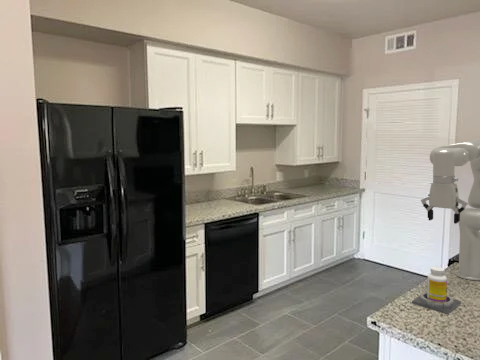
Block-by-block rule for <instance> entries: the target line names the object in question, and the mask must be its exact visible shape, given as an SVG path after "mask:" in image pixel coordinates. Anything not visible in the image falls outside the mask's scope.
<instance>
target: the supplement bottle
mask: <svg viewBox="0 0 480 360" xmlns="http://www.w3.org/2000/svg"><path fill="white" fill-rule="evenodd" d="M429 270H430V273H428V275H427V281H426V282H427V287H426V288H427V289H426V292H427V299H428V300H431V301H434V302H442V303H443V302H446V299H447V295H448V293H447V291H448V290H447V289H448V277H447V276H446V275H445V269H444V268H443V267H440V266H439V267H438V266H432V267H430V269H429Z"/></svg>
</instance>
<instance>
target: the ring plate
mask: <svg viewBox="0 0 480 360" xmlns="http://www.w3.org/2000/svg"><path fill="white" fill-rule="evenodd" d="M411 304H413V305H416V306H419V307H422V308H425V309H429V310H432V311H436V312H438V313H443V314H445V315H450V314H451V313H452V312H454V310H456V309H457V308H458V307H459V306H460V305H461V304H462V300H458V299H455V298H453V297H452V296H450V295H448V294H447V299H446V302H443V303H442V302H434V301H431V300H428V299H427V291H424V292H422V293H420V295H419V296H417V297H416V298H415V299H412V300H411Z"/></svg>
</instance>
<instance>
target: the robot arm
mask: <svg viewBox="0 0 480 360" xmlns="http://www.w3.org/2000/svg"><path fill="white" fill-rule="evenodd" d="M429 161H430V163H431V164H432V168H433V169H432V179H433V180H432V182H431V184H430V189H429V196H427V197H425V198H422V199H420V201H421V204H422V206H423V207H424V209H425V211H427V219H428V221H432V220H434V210H433V208H440V209H450V210H451V209H452V211H453V212H454V213H453V223H454V225H456V224H458V228H459V251H458V269H456V270H455V271H454V275H455V276H456V277H458V278H461V279H465V280H469V281H480V137H479V138H478V137H477V138H474V139H471V140H468V141H465V142H463V141H462V142H457V143H453V144H452V143H451V144H446V145H441V146H437V147H434V149H432V150H431V151H430V154H429ZM468 162H469V164H470V169H471V172H472V175H473V183H472V185H471V189H470V192H469V195H468V197H467V202H466V201H465V200H463V199H461V198H460V197H459V189H458V184H457V183H456V182H458V181H459V178H458V177H456V176H455V167H463V166H465V165H466V164H467V163H468ZM427 201H428V203H427ZM459 205H461V207H459ZM467 206H469V207H470V208H469V207H467Z"/></svg>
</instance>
